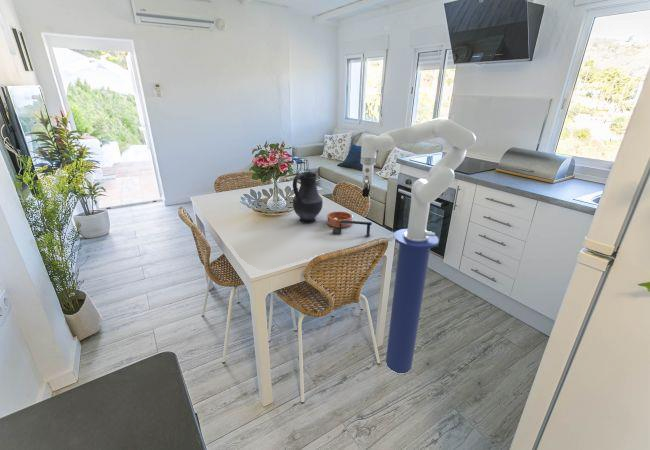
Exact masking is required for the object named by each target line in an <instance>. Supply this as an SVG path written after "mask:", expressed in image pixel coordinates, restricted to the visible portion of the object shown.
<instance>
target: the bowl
mask: <svg viewBox="0 0 650 450" xmlns="http://www.w3.org/2000/svg"><path fill="white" fill-rule="evenodd" d="M333 218H337V219H333ZM342 220H349V221H353V215H352V213H350V212H347V211H332V212H329V213H327V215H326V223H327V225H328V226H330V227H333V228H339V229H340V221H342ZM350 226H352V224H351V223H342V229H344V228H347V227H350Z"/></svg>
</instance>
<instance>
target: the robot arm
mask: <svg viewBox="0 0 650 450" xmlns="http://www.w3.org/2000/svg"><path fill="white" fill-rule="evenodd" d="M436 138H440V139H442V140H444V141H445V142H447V143H449V148H448V150H447V152H446V153H445V154H444V155H443V156H442V157H441V158H440V159H439V160H438V161H437V162H436V163H435V164H434V165H433V166H432V167H431V168H430V169H429V171H428V177H429V179H426V178H419V179H417V180H415V181H414V182H413V183H412V185H411V190H410V191H411V192H410V208H409V214H408V222H407V223H408V224H407V229H408V230H407V232H405V233H404V237H405V238H406V239H408V240H411V241H415V242H423V241H426V240H428V236H435V235H436V232H433V231H432V230H430V231H429V230H427V229H428V228H427V227H428V221H429V213H430V207H431V203H433V202H434V201H436V200H437V199H438V198H439V197H440V196H441V195H442V194H444V193H445V191H447V190H448V189H449V188H450V187H451V186H452V185H453V183H454V181H455V178H456V177H455V170H457V168H458V167H460V165H461V164H462V163H463V162H464V160H465V157H466V155H467V151H468V150H470V149H472V148H473V147H474V146H475V144H476V141H477V137H476V135H475V133H474V132H473V131H471V130H469V129H468V128H466V127H464V126H462V125H461V124H459V123H457V122H455V121H453V120H452V119H450V118H445V117H436V118H433V119H430V120H426V121H422V122H419V123H416V124H412V125H408V126H404V127H402V128H401V127H400V128H396V129H393V130H388V131H385V132H382V133H380V134H379V135H376V134H372V133H371V134H367V133H366V134H363V135H362V136H361V148H360V164H361V165H362V175H361V176H362V178H361V179H362V181H361V182H362V193H361V195H362V197H363V198H369V197H370V191H371V186H372V185H373V182H374V168H375V167H374V166H375V165H377V151H380V152H389V151H391V150H392V149H393V148H394V147H395V146H397V145H402V144H419V143H422V142H425V141H428V140H431V139H432V140H433V139H436Z"/></svg>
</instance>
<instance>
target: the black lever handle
mask: <svg viewBox="0 0 650 450" xmlns="http://www.w3.org/2000/svg"><path fill="white" fill-rule="evenodd" d="M372 222H373V221H362V220H361V221H359V220H352V221H349V220H342V221H340V228H337V227H333V228H332V234H333V235H341V234H342V229H343V228H342V223H351V225H352V224H354V225H364V226H366V234H365V235H366V237H370V233H371V226H372V224H373V223H372Z"/></svg>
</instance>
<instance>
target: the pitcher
mask: <svg viewBox="0 0 650 450" xmlns="http://www.w3.org/2000/svg"><path fill="white" fill-rule="evenodd" d="M318 176H319V173H317V172H314V171H302V172H299V173H297V174H296V175H295V176H294V178H293V181H292V189H293V193H294V197H293V198H292V207H293V210H294V213H295V214H296V216H298V217H299V222H300V223H303V224H313V223H315V222H316V220H317V219H316V217H317V216H318V215H319V214H320V213H321V212H322V209H323V204H324V203H323V202H324V201H323V198H322V197H321V195H320V194H319V191H318V187H317V178H318ZM299 180H300V186H299V188H298V181H299Z"/></svg>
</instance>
